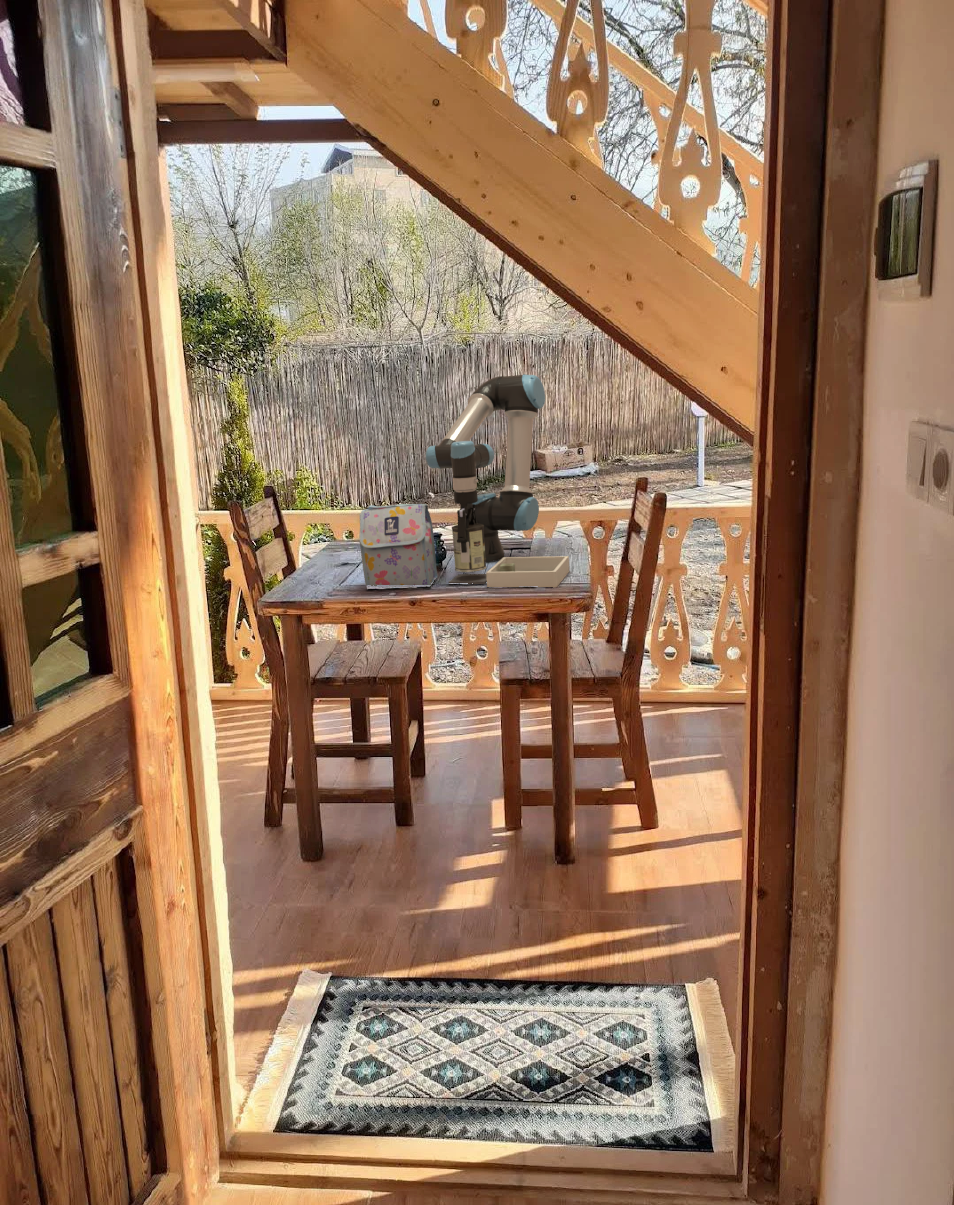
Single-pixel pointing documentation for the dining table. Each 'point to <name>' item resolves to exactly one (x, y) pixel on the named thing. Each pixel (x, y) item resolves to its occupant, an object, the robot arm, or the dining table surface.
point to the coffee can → (471, 549)
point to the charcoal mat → (470, 579)
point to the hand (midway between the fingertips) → (469, 559)
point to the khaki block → (507, 567)
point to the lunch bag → (397, 545)
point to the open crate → (529, 572)
